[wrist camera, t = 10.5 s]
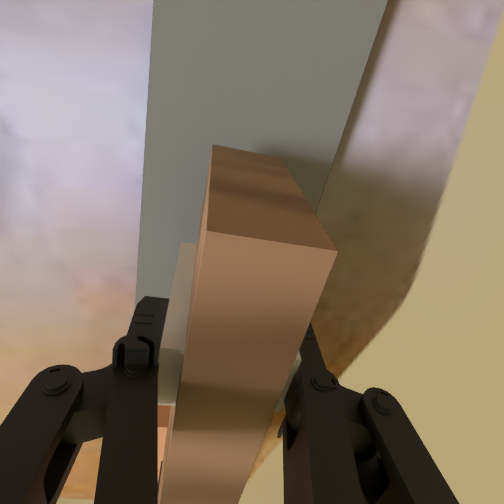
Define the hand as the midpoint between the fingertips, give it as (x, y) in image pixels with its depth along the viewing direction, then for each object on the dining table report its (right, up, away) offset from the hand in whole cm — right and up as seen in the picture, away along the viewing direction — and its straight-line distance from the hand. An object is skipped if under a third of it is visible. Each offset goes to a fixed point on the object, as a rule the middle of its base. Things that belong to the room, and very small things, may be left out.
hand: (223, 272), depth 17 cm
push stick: (-1, -4, +3) cm, 5 cm away
